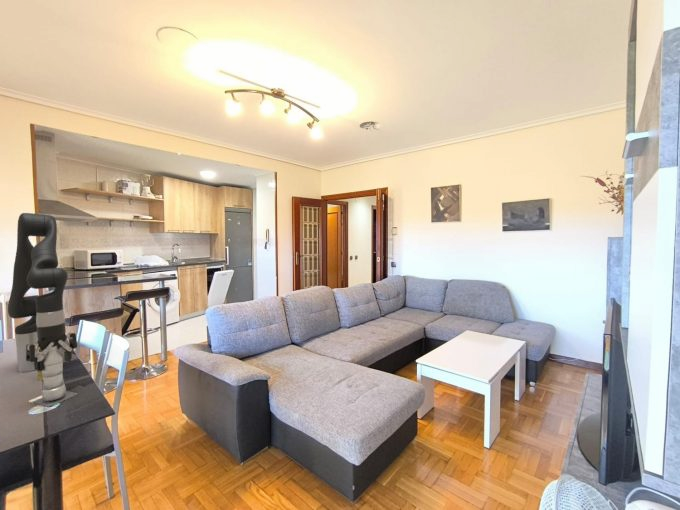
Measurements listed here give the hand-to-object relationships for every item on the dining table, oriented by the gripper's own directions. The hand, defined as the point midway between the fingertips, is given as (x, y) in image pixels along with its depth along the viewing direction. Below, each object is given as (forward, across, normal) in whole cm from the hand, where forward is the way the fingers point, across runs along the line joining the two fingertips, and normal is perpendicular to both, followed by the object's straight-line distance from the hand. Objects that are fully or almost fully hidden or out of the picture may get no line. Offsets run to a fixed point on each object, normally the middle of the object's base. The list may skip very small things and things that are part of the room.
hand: (54, 365), depth 111 cm
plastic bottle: (+12, +1, 0) cm, 13 cm away
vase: (+13, -10, -25) cm, 30 cm away
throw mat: (+13, 0, -2) cm, 13 cm away
